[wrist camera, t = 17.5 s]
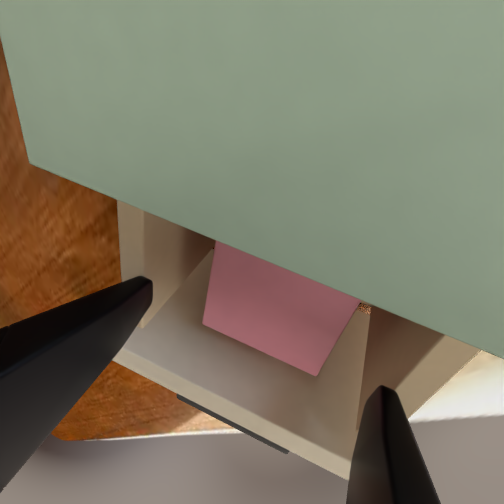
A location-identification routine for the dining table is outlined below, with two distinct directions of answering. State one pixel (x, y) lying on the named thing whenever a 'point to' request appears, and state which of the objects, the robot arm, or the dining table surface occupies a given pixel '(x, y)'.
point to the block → (275, 309)
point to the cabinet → (289, 134)
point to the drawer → (263, 365)
